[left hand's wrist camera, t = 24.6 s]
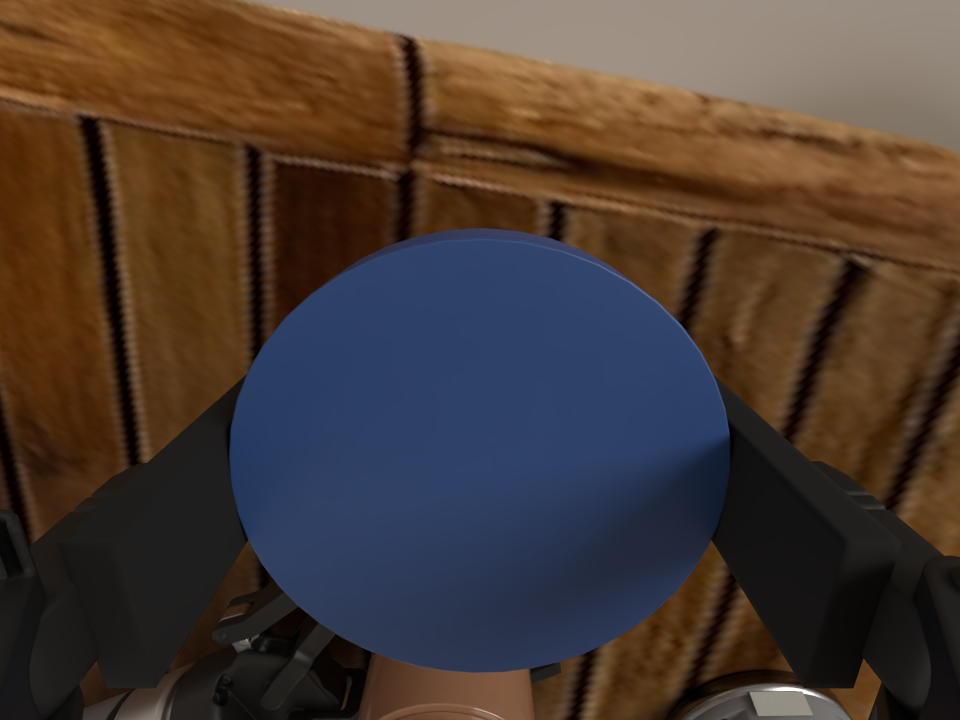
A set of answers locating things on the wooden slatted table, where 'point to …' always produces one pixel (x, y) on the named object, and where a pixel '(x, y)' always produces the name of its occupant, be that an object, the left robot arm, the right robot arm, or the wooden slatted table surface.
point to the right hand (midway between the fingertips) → (521, 594)
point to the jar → (443, 693)
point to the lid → (479, 452)
